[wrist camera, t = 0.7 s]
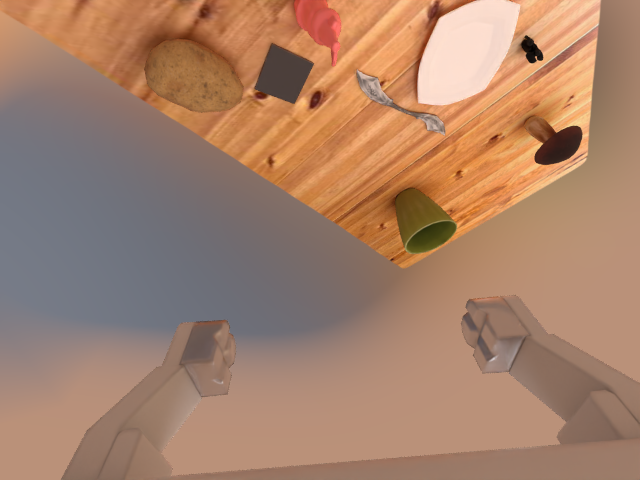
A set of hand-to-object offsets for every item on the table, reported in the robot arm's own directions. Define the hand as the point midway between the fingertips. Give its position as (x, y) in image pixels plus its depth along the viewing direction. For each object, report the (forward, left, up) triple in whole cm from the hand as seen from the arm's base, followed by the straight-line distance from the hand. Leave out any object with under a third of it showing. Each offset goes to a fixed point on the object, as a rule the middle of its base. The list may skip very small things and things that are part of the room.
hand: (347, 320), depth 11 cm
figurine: (+1, +15, -52) cm, 54 cm away
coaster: (+12, +16, -52) cm, 55 cm away
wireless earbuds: (-12, +60, -52) cm, 80 cm away
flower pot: (+31, +66, -52) cm, 89 cm away
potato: (+16, +2, -52) cm, 54 cm away
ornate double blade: (+8, +44, -52) cm, 68 cm away
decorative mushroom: (-2, +82, -52) cm, 97 cm away
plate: (-5, +47, -52) cm, 70 cm away
